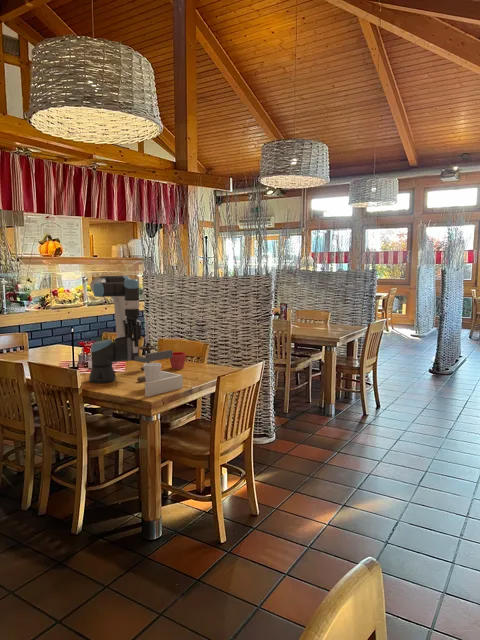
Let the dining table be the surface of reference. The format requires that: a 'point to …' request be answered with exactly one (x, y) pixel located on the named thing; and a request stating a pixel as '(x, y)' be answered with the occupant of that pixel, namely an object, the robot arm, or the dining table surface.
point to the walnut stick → (141, 379)
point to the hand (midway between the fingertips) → (133, 352)
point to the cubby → (164, 384)
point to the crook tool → (149, 356)
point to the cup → (152, 371)
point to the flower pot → (177, 360)
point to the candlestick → (147, 341)
